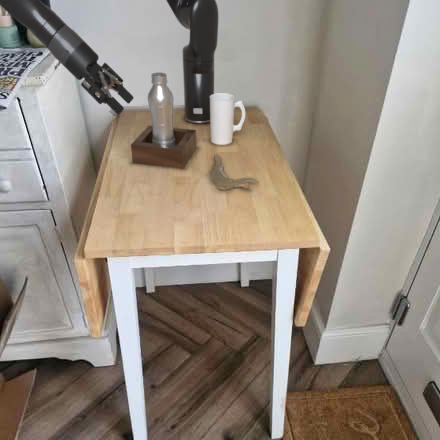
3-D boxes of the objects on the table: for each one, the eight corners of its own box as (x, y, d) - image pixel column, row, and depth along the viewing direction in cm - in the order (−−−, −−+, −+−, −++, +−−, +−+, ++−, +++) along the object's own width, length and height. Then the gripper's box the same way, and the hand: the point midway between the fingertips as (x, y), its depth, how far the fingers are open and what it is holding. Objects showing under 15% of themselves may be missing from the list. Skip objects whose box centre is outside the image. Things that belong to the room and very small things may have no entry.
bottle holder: (150, 143, 121) (148, 125, 118) (196, 148, 119) (196, 130, 116) (133, 163, 111) (130, 144, 108) (183, 168, 109) (182, 149, 106)
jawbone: (226, 200, 98) (226, 192, 97) (187, 166, 112) (186, 159, 110) (259, 188, 101) (259, 180, 100) (217, 157, 115) (216, 149, 113)
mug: (211, 146, 120) (211, 101, 112) (208, 136, 125) (208, 93, 117) (246, 144, 121) (249, 100, 113) (241, 135, 126) (243, 92, 118)
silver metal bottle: (157, 162, 111) (149, 79, 98) (149, 152, 116) (141, 72, 103) (180, 158, 113) (176, 77, 100) (172, 148, 118) (167, 69, 105)
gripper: (70, 47, 93) (127, 105, 100) (92, 34, 104) (143, 87, 111) (52, 72, 97) (109, 126, 104) (75, 57, 108) (125, 107, 115)
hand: (126, 106), depth 107 cm, fingers open, 8 cm apart
